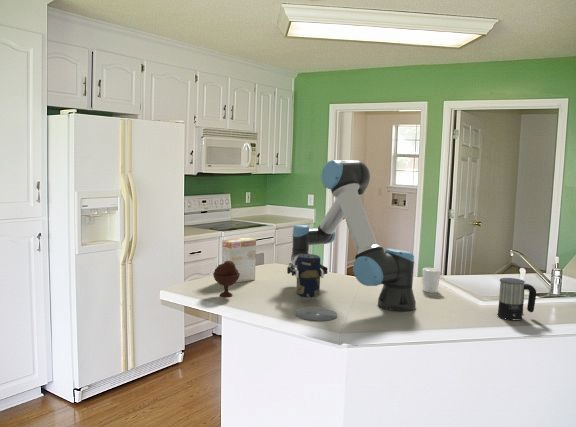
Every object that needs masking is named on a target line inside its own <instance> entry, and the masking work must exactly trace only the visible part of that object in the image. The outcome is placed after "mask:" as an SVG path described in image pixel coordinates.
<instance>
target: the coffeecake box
mask: <svg viewBox="0 0 576 427" xmlns="http://www.w3.org/2000/svg"><path fill="white" fill-rule="evenodd" d="M221 242H222V243H221V244H222V245H221V264H223V263H224V262H225V261H232V262H233V263H234V264H235V267H236V269H237V270H238V273H240V275H239V278H238V280H237V281H236V282H235V283H234V284H236V283H242V282H248V281H255V280H256V264H257V263H256V261H257V258H256V257H257V239H255V238H252V237H241V238H239V237H238V238H231V239H230V238H229V239H222V240H221Z"/></svg>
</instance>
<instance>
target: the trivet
mask: <svg viewBox="0 0 576 427" xmlns="http://www.w3.org/2000/svg"><path fill="white" fill-rule="evenodd" d="M294 315H295V316H296V317H297V318H299V319H301V320H305V321H310V322H328V321H332V320H335V319H337V317H338V313H337V312H336V311H335V310H333V309H329V308H327V307H326V308H325V307H319V306H307V307H301V308H298V309H296V310H295V312H294Z"/></svg>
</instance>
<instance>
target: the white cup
mask: <svg viewBox="0 0 576 427" xmlns="http://www.w3.org/2000/svg"><path fill="white" fill-rule="evenodd" d="M440 276H441V269H440V268H435V267H423V268H422V277H421V278H422V281H421V282H422V288H421V290H422V291H424V292H426V293H432V294H434V293H437V292H439V285H440V278H441V277H440Z"/></svg>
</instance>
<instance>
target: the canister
mask: <svg viewBox="0 0 576 427" xmlns="http://www.w3.org/2000/svg"><path fill="white" fill-rule="evenodd" d="M320 264H321V257H320V255H317V254H313V253H312V254H310V253H308V254H302V255H299V256H298V258H297V269H298V271H299V274H298V278H296V292H295V293H296V295H297V296H298V297H301V298H305V299H306V298H307V299H312V298H317V297H319V295H320V292H321V291H320V287H321V286H320V285H321V277H320Z"/></svg>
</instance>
